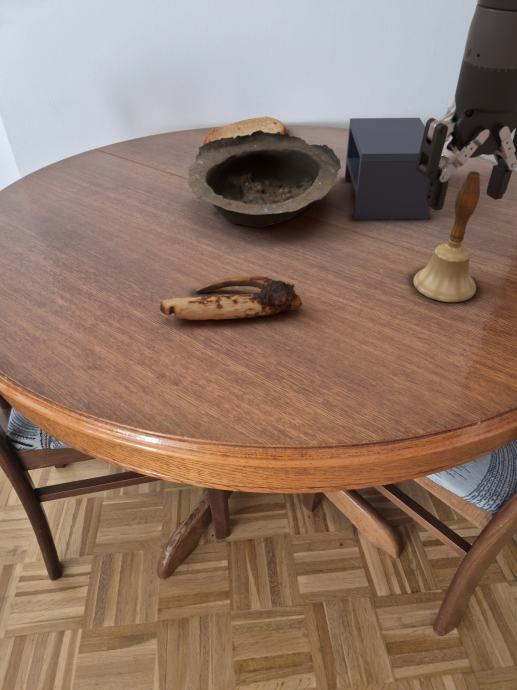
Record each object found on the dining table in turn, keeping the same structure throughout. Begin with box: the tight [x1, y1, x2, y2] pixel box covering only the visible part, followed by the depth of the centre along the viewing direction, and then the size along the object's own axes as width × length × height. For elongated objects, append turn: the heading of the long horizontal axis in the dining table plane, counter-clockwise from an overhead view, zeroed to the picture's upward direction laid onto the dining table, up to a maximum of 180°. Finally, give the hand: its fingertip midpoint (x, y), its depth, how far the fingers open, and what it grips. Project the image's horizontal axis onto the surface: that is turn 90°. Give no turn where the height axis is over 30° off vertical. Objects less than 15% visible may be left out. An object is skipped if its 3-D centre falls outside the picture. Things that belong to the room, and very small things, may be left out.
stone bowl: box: [187, 130, 342, 229], centre depth 90 cm, size 25×25×9 cm
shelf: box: [344, 117, 431, 221], centre depth 92 cm, size 12×16×11 cm
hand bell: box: [412, 170, 481, 303], centre depth 69 cm, size 8×8×16 cm
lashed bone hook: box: [159, 275, 303, 321], centre depth 70 cm, size 9×5×18 cm
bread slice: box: [202, 116, 287, 146], centre depth 115 cm, size 18×18×4 cm
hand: (464, 202), depth 67 cm, fingers open, 8 cm apart
